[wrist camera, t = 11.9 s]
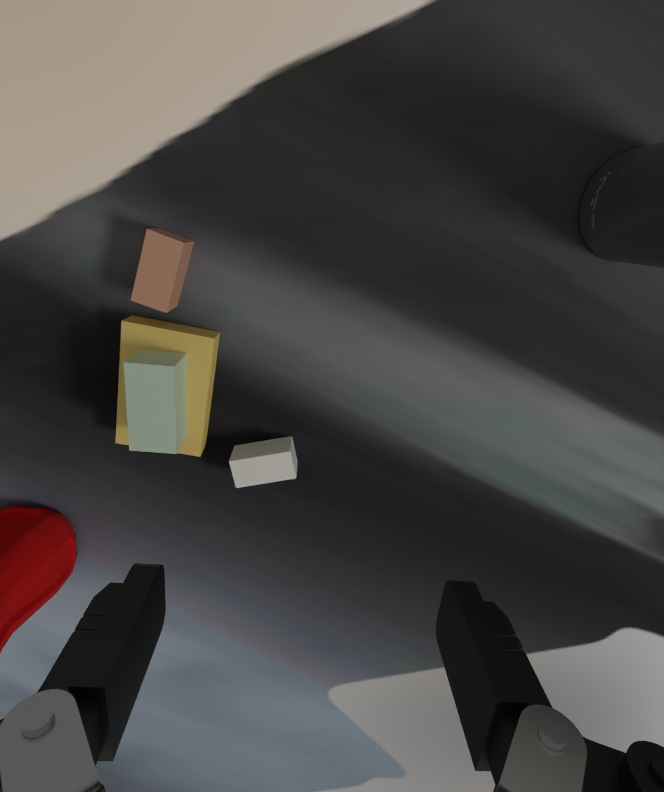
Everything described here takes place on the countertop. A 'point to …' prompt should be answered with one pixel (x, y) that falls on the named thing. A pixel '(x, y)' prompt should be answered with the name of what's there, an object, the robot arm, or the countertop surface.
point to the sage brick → (156, 400)
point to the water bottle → (31, 562)
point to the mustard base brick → (199, 371)
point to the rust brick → (161, 269)
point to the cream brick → (263, 462)
